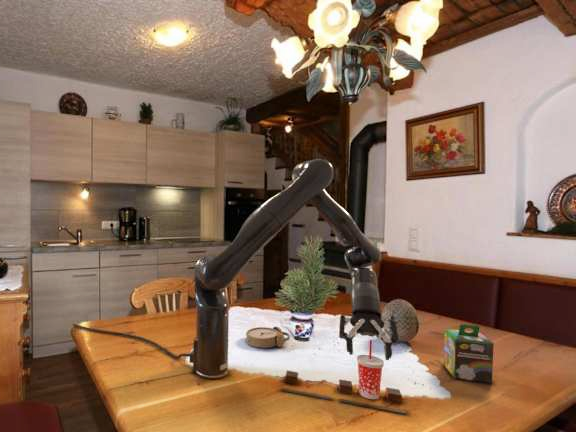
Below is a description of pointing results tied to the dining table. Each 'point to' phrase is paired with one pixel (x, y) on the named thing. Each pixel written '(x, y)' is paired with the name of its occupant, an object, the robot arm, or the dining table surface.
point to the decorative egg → (401, 319)
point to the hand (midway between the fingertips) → (369, 356)
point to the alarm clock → (266, 337)
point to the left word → (293, 378)
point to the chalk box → (468, 354)
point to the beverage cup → (369, 375)
